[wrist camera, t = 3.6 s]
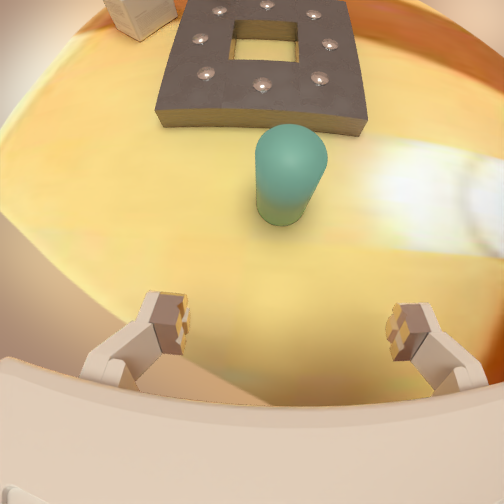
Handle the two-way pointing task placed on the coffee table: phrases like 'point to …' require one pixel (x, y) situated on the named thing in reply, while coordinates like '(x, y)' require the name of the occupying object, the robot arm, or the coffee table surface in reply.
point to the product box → (140, 15)
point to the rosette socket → (264, 68)
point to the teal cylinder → (287, 172)
